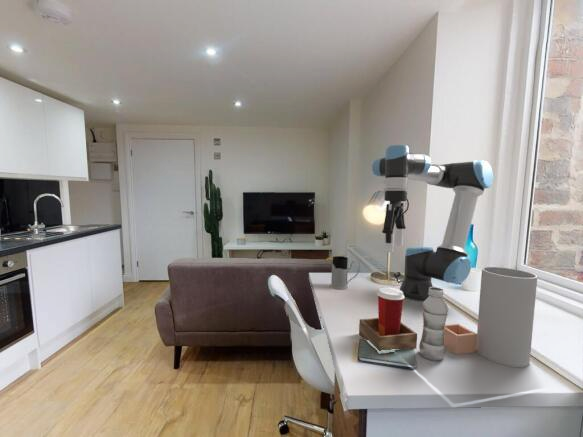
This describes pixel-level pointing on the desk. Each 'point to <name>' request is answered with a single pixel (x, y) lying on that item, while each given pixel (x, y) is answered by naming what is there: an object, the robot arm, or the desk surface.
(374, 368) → the desk surface
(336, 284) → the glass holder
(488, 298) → the cylinder vase
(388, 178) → the robot arm
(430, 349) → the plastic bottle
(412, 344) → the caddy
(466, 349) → the planter
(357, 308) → the desk surface
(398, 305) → the coffee cup
